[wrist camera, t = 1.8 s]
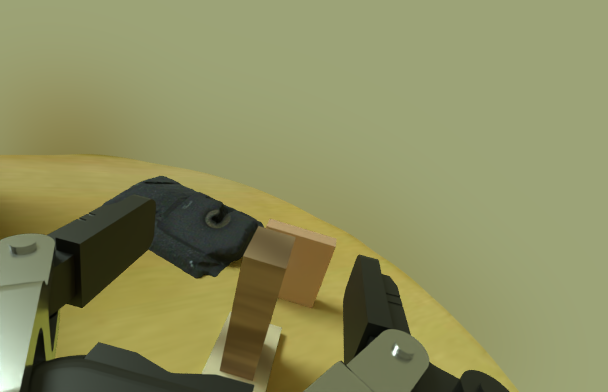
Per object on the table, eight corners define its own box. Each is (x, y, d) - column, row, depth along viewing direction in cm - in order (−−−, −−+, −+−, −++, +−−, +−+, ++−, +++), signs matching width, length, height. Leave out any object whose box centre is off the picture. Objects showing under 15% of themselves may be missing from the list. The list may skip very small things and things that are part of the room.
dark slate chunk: (169, 181, 57) (170, 158, 54) (271, 234, 51) (277, 210, 49) (84, 215, 44) (81, 185, 42) (208, 290, 38) (213, 261, 36)
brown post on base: (257, 420, 27) (299, 301, 20) (191, 399, 27) (209, 273, 20) (279, 333, 35) (315, 226, 28) (228, 317, 35) (251, 206, 28)
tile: (312, 308, 39) (335, 246, 34) (251, 289, 39) (266, 226, 34) (313, 297, 41) (336, 238, 36) (255, 280, 41) (270, 217, 36)
